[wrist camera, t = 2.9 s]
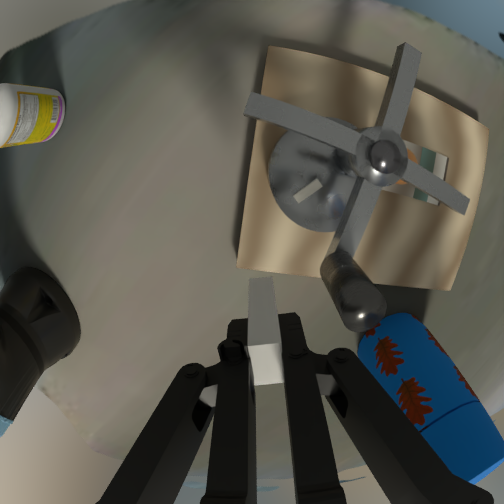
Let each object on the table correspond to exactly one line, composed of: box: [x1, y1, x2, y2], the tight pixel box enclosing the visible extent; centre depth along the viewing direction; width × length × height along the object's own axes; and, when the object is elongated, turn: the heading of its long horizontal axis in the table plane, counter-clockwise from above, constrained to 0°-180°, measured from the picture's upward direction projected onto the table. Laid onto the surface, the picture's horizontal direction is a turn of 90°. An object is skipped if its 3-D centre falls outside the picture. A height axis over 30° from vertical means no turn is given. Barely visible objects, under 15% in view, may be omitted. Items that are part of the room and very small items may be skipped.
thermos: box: [357, 313, 504, 484], centre depth 23 cm, size 11×11×25 cm
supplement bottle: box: [0, 83, 65, 148], centre depth 17 cm, size 7×7×13 cm
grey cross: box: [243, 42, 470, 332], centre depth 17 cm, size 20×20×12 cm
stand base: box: [236, 46, 489, 291], centre depth 25 cm, size 28×22×2 cm
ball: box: [395, 148, 418, 185], centre depth 22 cm, size 4×4×4 cm
